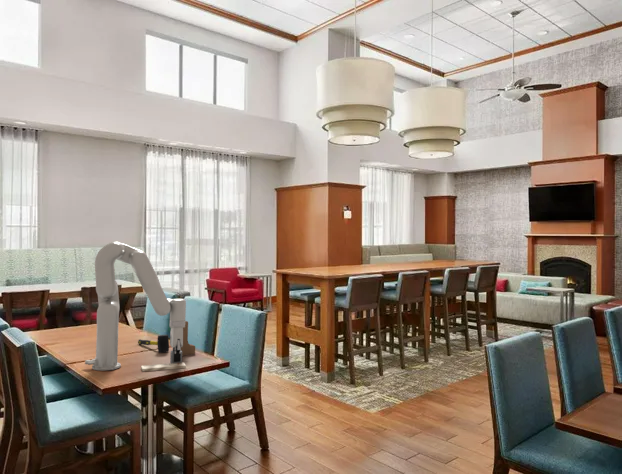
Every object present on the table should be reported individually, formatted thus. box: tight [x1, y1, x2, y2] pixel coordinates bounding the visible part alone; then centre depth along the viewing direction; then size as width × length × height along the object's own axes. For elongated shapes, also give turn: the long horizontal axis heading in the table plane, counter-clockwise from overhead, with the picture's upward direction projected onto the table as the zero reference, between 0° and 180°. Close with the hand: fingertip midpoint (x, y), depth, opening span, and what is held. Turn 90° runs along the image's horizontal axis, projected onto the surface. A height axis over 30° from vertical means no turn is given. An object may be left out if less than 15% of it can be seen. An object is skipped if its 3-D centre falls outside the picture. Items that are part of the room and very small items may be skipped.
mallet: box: [137, 334, 170, 354], centre depth 273 cm, size 29×6×10 cm, turn 48°
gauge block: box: [169, 350, 183, 364], centre depth 242 cm, size 5×4×6 cm
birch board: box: [140, 361, 187, 372], centre depth 233 cm, size 20×6×1 cm, turn 115°
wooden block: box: [181, 320, 196, 357], centre depth 262 cm, size 9×4×18 cm, turn 127°
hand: (176, 360), depth 242 cm, fingers closed on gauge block, 3 cm apart
